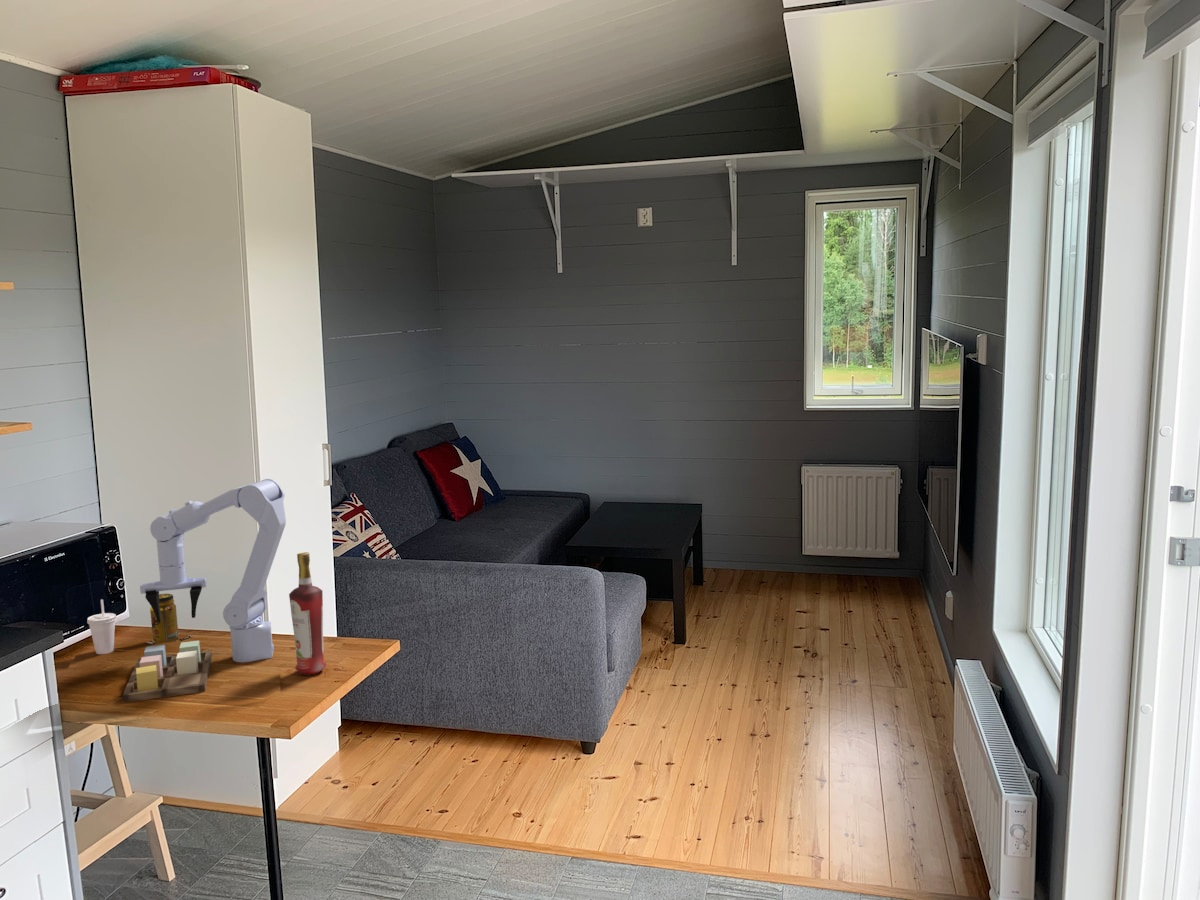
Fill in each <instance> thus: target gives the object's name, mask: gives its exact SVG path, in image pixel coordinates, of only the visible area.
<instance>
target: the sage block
mask: <svg viewBox="0 0 1200 900" xmlns="http://www.w3.org/2000/svg"><path fill="white" fill-rule="evenodd" d="M200 645H201V643H200V640H192V641H183V642H180V645H179V653H180V652H189V651H197V660H198V662H201V655H200V652H201V646H200Z"/></svg>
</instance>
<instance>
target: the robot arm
mask: <svg viewBox="0 0 1200 900" xmlns="http://www.w3.org/2000/svg"><path fill="white" fill-rule="evenodd" d="M285 494H286V493H285V492H284V490H283V489H282V487H281V485H280V484H279V483H278V482H277V481H276V480H274V479H271V478H266V479H265V478H264V479H262V480H260V481H258V482H252V483H248V484H245V485H242V486H239V487H235V488H231V489H230V490H228V491H226V492H224V493H222V494H220V495H218V496H216V497H214V498H212V499H210V500H208V501H205V502H201V501H199V500H196V501H194V500H189V501H187V502H185V503H184V505H185V506H182V507H180V508H178V509H175V508H174V509H171V510H169V511H168V514H166V515H163V516H162V515H161V516H158V517H156V518H155V519H154V520H153V521H152V522H151V523H150V526H149V527H150V528H149V530H150V534H151V536H152V537H153V538H154V539H155V540H156V548H157V558H158V569H159V570H158V571H159V581H153V582H148V583H147V582H146V583H141V584H140V586H139V591H140V594H141V595H143V594H144V595H145V600H146V601H147V602H148V603H149V605H150V608H151V607H152V609H153V611H154V613H155V615H156V618H157V622H160V621H161V611H160V604H159V594H160V592H164V591H174V590H175V591H176V590H183V589H184V590H186V589H189V595H190V603H191V604H190V605H191V607H190V608H191V610H190V611H191V613H190V614H191V619H195V618H196V613H197V606H198V601H199V599H200V595H201V592H202V590H203V588H207V577H197V578H196V577H194V578H193V577H188V578H187V575H186V563H185V562H186V561H185V551H184V539H185V538H184V535H185V533H188V532H189V531H191V530H194V529H196V528H199V527H200V526H201V527H202V525H204V524H207V523H208V522H209V520H210V517H211V515H213V514H215V513H218V512H220V511H223V510H225V509H227V508H230V507H233V506H234V507H235V508H238V509H239V508H242V509H243V511H245V512H246V513H247V514H248V515H249V516H251V518H253V520H255V522H257V524H258V525H259V529H258V530H257V531H258V532H257V535H256V538H255V541H254V543H253V546H252V549H251V552H250V556H249V559H248V562H247V564H246V567H245V569H244V570H245V571H244V573H243V577H242V580H241V582H240V585H239V587H238V588H237V589H236V591H235V592H234V593H233V595H232V597H231V598H230V599H231V600H230V601H229V603H227V604H226V605H225V606H224V608H223V613H222V615H223V619H224V622H225V623H226V624H227V625H228V626H229V627H228V628H229V629H230V644H231V655H232V661H234V662H237V663H248V662H254V661H260V660H267V659H268V660H269V659H273V655H274V652H275V646H274V645H275V644H274V643H273V633H272V624H271V623H272V622H271V621H263V614H264V613H265V611H266V608H267V601H266V597H267V594H268V593H267V591H266V590H265V586H266V583H267V580H268V577H269V574H270V571H271V568H272V566H273V563H274V559H275V557H276V553H277V550H278V548H279V545H280V542H281V540H282V536H283V532H284V530H285V527H286V524H287V523H286V522H287V521H286V519H287V518H286V512H285V506H284V499H285Z"/></svg>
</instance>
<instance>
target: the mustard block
mask: <svg viewBox="0 0 1200 900" xmlns="http://www.w3.org/2000/svg"><path fill="white" fill-rule="evenodd" d="M136 677H137V688H138V692H139V691H146V690H154V689H158V680H157V669H156V665H153V666H146V667H140V668H136Z"/></svg>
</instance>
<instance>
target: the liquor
mask: <svg viewBox="0 0 1200 900" xmlns="http://www.w3.org/2000/svg"><path fill="white" fill-rule="evenodd" d="M310 557H311V556H310V552H307V551H306V552H298V553H297V554H296V558H297V565H298V587H295V588H294V589H293V590H291V591H290V592H289V594H288V598H289V603H290V604H289V606H290V615H291V621H292V622H291V623H292V629H293V637H294V645H295V656H296V666H295V667H294V669H295V670H296V671H297V672H298V673H300V674H301V675H303V674H304V675H303V676H312V675H311V674H314V675H317V674H316V673H318V672H320V671H321V672H322V671H323V670H324V669H325V668H326V666H327V663H326V661H325V656H324V655H325V654H324V653H325V652H324V629H323V628H324V609H323V608H324V607H323V605H324V604H323V596H324V595H323V589H321V588H319V587H318V586H315V585H313V582H312V576H311V570H310V569H311V568H310V561H311V559H310ZM321 672H320V673H321ZM318 674H319V673H318Z"/></svg>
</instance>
